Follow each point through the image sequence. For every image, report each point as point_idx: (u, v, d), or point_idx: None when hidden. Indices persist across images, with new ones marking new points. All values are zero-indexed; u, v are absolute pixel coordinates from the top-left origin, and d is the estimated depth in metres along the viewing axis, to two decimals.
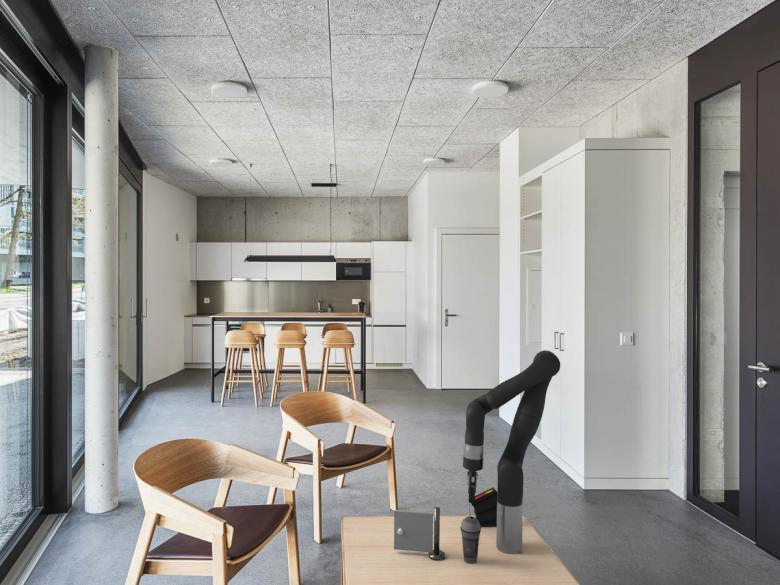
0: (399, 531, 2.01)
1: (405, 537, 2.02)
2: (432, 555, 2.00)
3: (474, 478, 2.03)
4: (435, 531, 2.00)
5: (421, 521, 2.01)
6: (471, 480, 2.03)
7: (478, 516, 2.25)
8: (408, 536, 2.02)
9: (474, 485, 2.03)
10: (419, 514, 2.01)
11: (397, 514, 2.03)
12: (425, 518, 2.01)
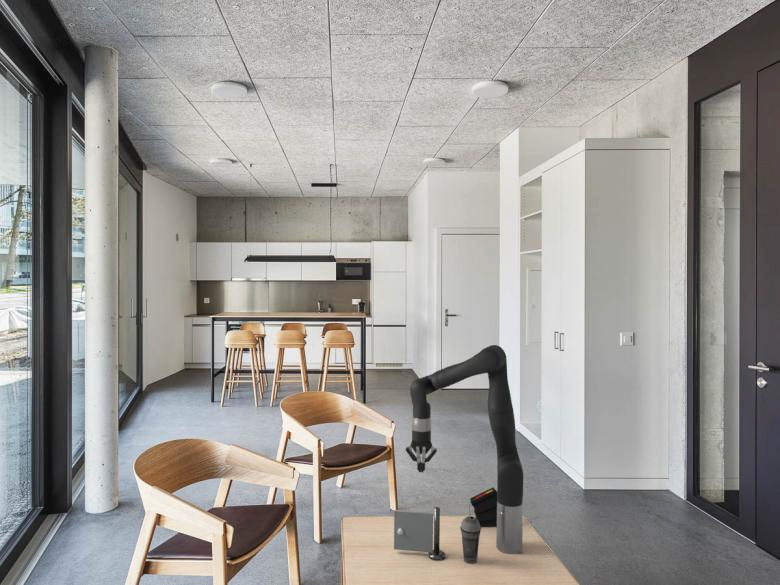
0: (399, 531, 2.01)
1: (405, 537, 2.02)
2: (432, 555, 2.00)
3: (436, 450, 2.22)
4: (435, 531, 2.00)
5: (421, 521, 2.01)
6: None
7: (478, 516, 2.25)
8: (408, 536, 2.02)
9: None
10: (419, 514, 2.01)
11: (397, 514, 2.03)
12: (425, 518, 2.01)
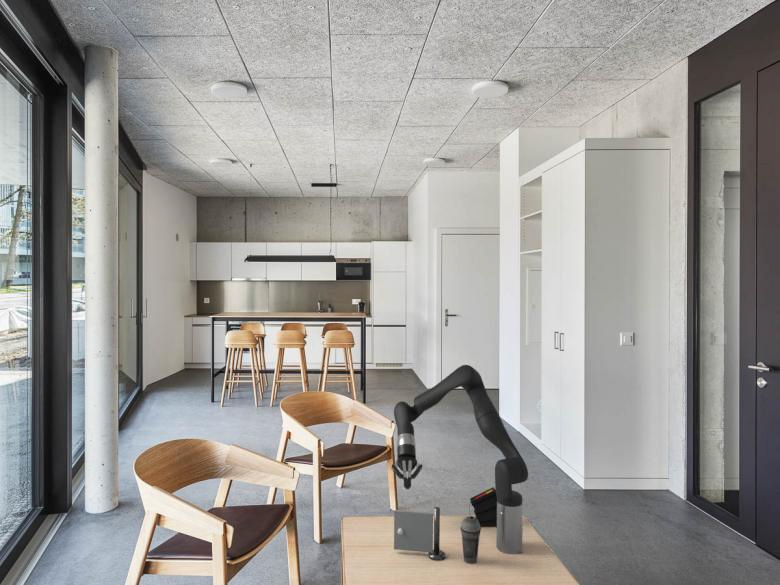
0: (399, 531, 2.01)
1: (405, 537, 2.02)
2: (432, 555, 2.00)
3: (421, 468, 2.25)
4: (435, 531, 2.00)
5: (421, 521, 2.01)
6: (421, 468, 2.23)
7: (478, 516, 2.25)
8: (408, 536, 2.02)
9: (418, 473, 2.23)
10: (419, 514, 2.01)
11: (397, 514, 2.03)
12: (425, 518, 2.01)
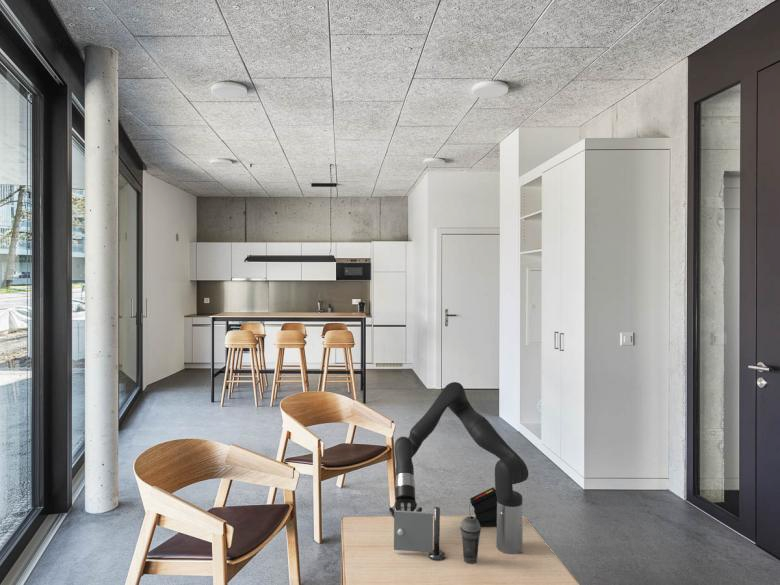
0: (399, 531, 2.01)
1: (405, 537, 2.02)
2: (432, 555, 2.00)
3: (421, 511, 2.10)
4: (435, 531, 2.00)
5: (421, 522, 2.01)
6: None
7: (478, 516, 2.25)
8: (408, 536, 2.02)
9: None
10: (419, 514, 2.01)
11: (397, 515, 2.02)
12: (425, 518, 2.01)
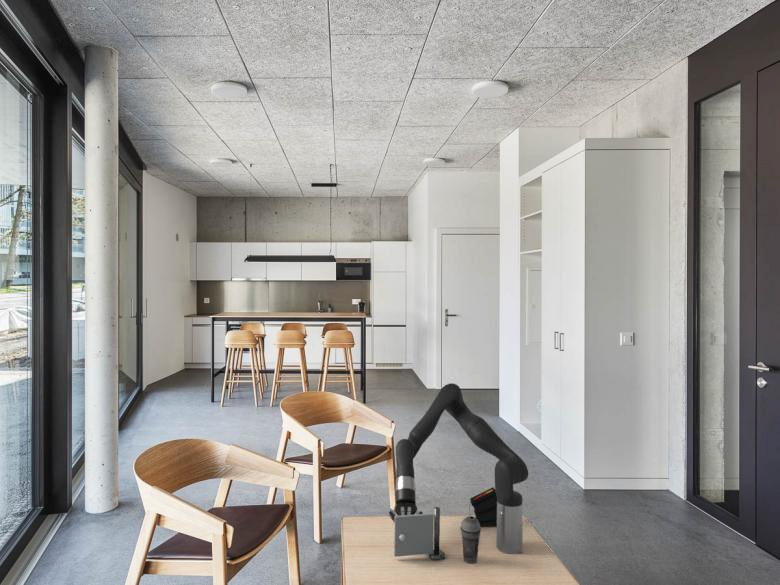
0: (401, 537, 1.97)
1: (406, 542, 1.98)
2: (432, 555, 2.00)
3: None
4: (435, 531, 2.00)
5: (422, 524, 1.99)
6: None
7: (478, 516, 2.25)
8: (409, 541, 1.99)
9: None
10: (420, 517, 1.99)
11: (398, 520, 1.98)
12: (426, 519, 2.00)
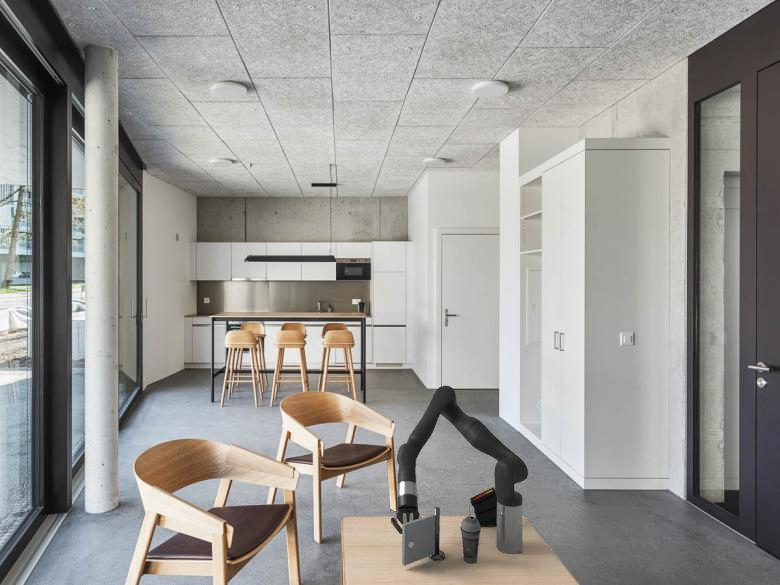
0: (411, 544, 1.92)
1: (413, 548, 1.94)
2: (432, 555, 2.00)
3: None
4: (435, 531, 2.00)
5: (426, 526, 1.97)
6: None
7: (478, 516, 2.25)
8: (416, 546, 1.95)
9: None
10: (424, 520, 1.97)
11: (407, 528, 1.92)
12: (429, 521, 1.98)
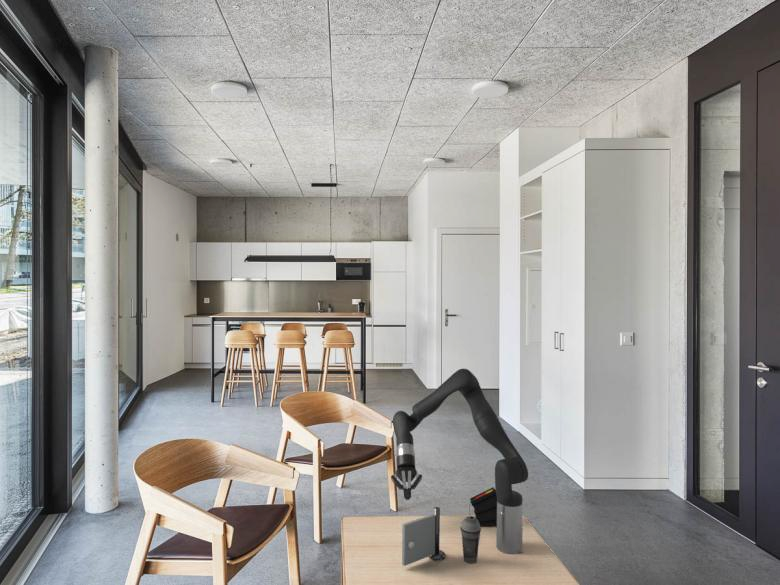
0: (411, 544, 1.92)
1: (413, 548, 1.94)
2: (432, 555, 2.00)
3: (421, 478, 2.23)
4: (435, 531, 2.00)
5: (426, 526, 1.97)
6: (420, 478, 2.21)
7: (478, 516, 2.25)
8: (416, 546, 1.95)
9: (418, 483, 2.21)
10: (424, 520, 1.97)
11: (407, 528, 1.92)
12: (429, 521, 1.98)
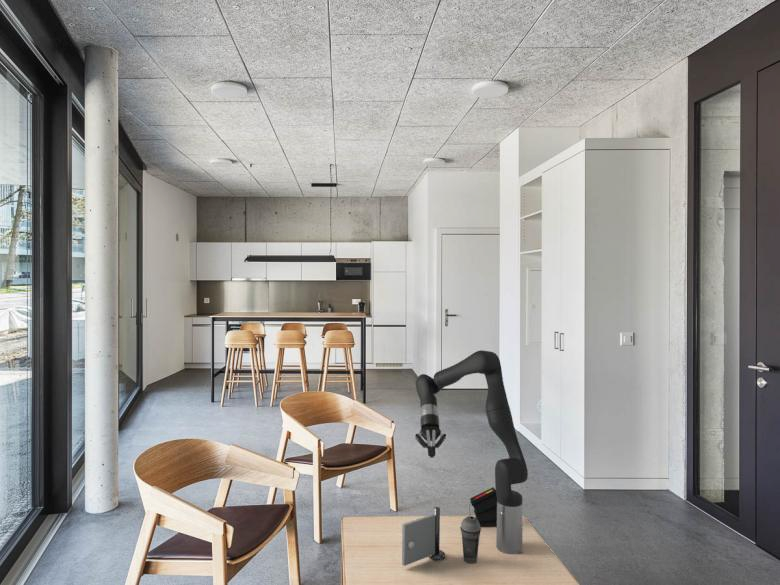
0: (411, 544, 1.92)
1: (413, 548, 1.94)
2: (432, 555, 2.00)
3: (445, 437, 2.26)
4: (435, 531, 2.00)
5: (426, 526, 1.97)
6: (444, 438, 2.25)
7: (478, 516, 2.25)
8: (416, 546, 1.95)
9: (442, 442, 2.25)
10: (424, 520, 1.97)
11: (407, 528, 1.92)
12: (429, 521, 1.98)
